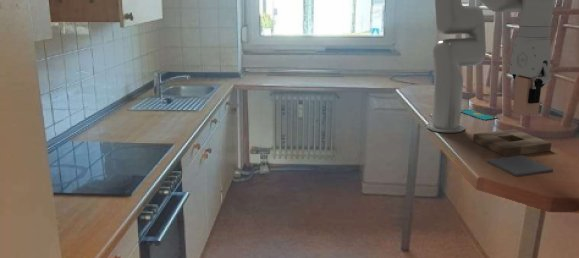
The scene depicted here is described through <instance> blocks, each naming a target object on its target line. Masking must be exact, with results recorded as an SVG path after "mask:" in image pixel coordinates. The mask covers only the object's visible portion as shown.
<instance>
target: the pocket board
mask: <svg viewBox="0 0 579 258" xmlns="http://www.w3.org/2000/svg"><path fill="white" fill-rule="evenodd" d="M472 142H474V143H476V144H477V145H480V146H482V147H485V148H487V149H489V150H491V151H493V152H495V153H498V154H499V155H502V156H503V157H512V156H520V155H527V154H528V155H530V154H536V153H544V152H550V151H551V149H552V148H551V147H552V142H549V141H547V140H545V139H542V138H539V137H536V136H534V135H531V134H529V133H527V132H523V131H520V130H518V129H516V128H515V129H504V130H496V131H487V132H478V133H473V138H472Z"/></svg>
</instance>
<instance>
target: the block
mask: <svg viewBox="0 0 579 258" xmlns="http://www.w3.org/2000/svg"><path fill="white" fill-rule="evenodd" d="M536 77H538V76H536ZM537 81H538V79H536V82H537ZM514 85H515V84H514ZM529 89H531V78H529V77H524V76H516V85H515V86H514V96H513V105H512V113H513V114H518V115H521V116H523V117H524V116H525V117H528V116H534V115H535V116H537V115H539V111H540V102H541V99H540V100H539V103H532V104H529V103H528V97H529ZM541 95H542V91H541V92H540V96H541Z"/></svg>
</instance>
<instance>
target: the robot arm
mask: <svg viewBox="0 0 579 258" xmlns="http://www.w3.org/2000/svg"><path fill="white" fill-rule="evenodd" d="M480 2H482V4H483V5H484V6H485V7H486V8H487V9H489V10H490V11H492V12H495V13H508V12H509V13H510V12H511V13H514V12H515V13H516V12H517V13H518V12H520V14H519V23H518V24H519V26H518V33H517V36H515V40H514V42H513V46H512V50H511V56H510V63H509V73H510V74H511V76H512V78H513V80H514V81H513V84H514V85H516V76H524V77H529V78H531V89H529V97H528V103H529V104H532V103H539V100H540V101H541V95H540V92H541V93H542V89H543V88H544V86H545V85H546V84H547V83H548V82H550V81H551V80H552V76H551V73H550V69H551V62H552V61H551V60H552V59H551V58H552V41H551V40H552V39H550V37H551V30H552V22H553V14H554V7H555V0H480ZM434 5H435V6H434V7H435V8H434V9H435V22H436V24H435V25H436V30H437V31H438V33H440V34H441V35H444V36H445V35H446V36H447V35H448V36H449V35H451V36H453V35H464V37H463V38H462V37H457V38H454V37H453V38H444V39H441V40H439V41H437V42H436V43H435V44H434V47H433V50H432V52H433V53H432V55H433V64H434V84H433V85H434V87H433V100H432V104H433V105H432V113H429V114H428V117H429V118H431V121H430V122H428V123H427V126H426V127H427V129H429V130H430V131H433V132H438V133H442V134H443V133H444V134H448V133H449V134H454V133H460V132H463V131H464V130H465V125H464V124H463V123H461V114H462V113H461V110H462V103H463V102H462V101H463V89H464V79H463V76H462V73H461V72H460V70H459V67H466V66H467V67H468V66H477V65H480V64H482V63H483V61H484V60H485V58H486V54H487V53H486V52H487V50H486V48H487V47H486V46H487V45H486V42H487V41H486V23H485V15H484V13H483V11H482V9H481V8H480V7H478V6H476V5H463V3H462V0H434ZM536 76H537V77H536ZM536 79H538V81H537V82H536ZM539 104H540V103H539Z"/></svg>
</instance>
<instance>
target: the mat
mask: <svg viewBox="0 0 579 258" xmlns="http://www.w3.org/2000/svg"><path fill="white" fill-rule="evenodd" d="M486 161H487V162H486V163H488V164H491V165H493V166H495V167H497V168H498V169H500V170H502V171H505V172H507V173H509V174H510V175H512V176H515V177H521V176H526V175H533V174H534V175H535V174H540V173H541V174H543V173H548V172H553V170H554V169H553V167H549V166H547V165H545V164H542V163H540V162H538V161H536V160H534V159H531V158H530V157H526V156H524V154H522V155H514V156H504V157H499V158H498V157H497V158H491V159H487V160H486Z"/></svg>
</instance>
